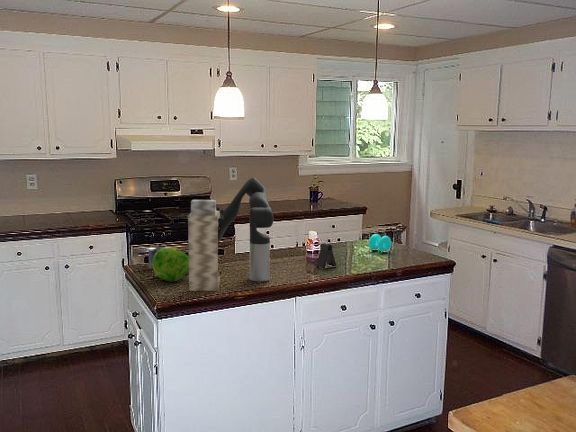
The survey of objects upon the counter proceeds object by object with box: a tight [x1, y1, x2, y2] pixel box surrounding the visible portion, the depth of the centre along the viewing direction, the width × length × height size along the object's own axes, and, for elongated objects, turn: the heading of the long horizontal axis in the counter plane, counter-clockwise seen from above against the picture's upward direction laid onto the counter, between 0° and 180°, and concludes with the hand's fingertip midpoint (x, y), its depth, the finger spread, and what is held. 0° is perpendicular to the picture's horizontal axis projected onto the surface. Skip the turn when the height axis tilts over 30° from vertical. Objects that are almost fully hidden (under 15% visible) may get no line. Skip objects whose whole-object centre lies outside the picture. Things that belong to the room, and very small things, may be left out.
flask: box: [148, 244, 167, 270], centre depth 264 cm, size 10×3×12 cm, turn 133°
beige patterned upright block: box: [187, 210, 221, 292], centre depth 232 cm, size 12×16×32 cm
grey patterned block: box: [190, 199, 217, 216], centre depth 235 cm, size 10×23×6 cm, turn 4°
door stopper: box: [315, 242, 337, 268], centre depth 270 cm, size 9×6×12 cm, turn 120°
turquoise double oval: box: [368, 233, 392, 252], centre depth 308 cm, size 10×10×10 cm
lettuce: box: [152, 247, 189, 282], centre depth 242 cm, size 17×20×15 cm
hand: (207, 208), depth 247 cm, fingers open, 8 cm apart
